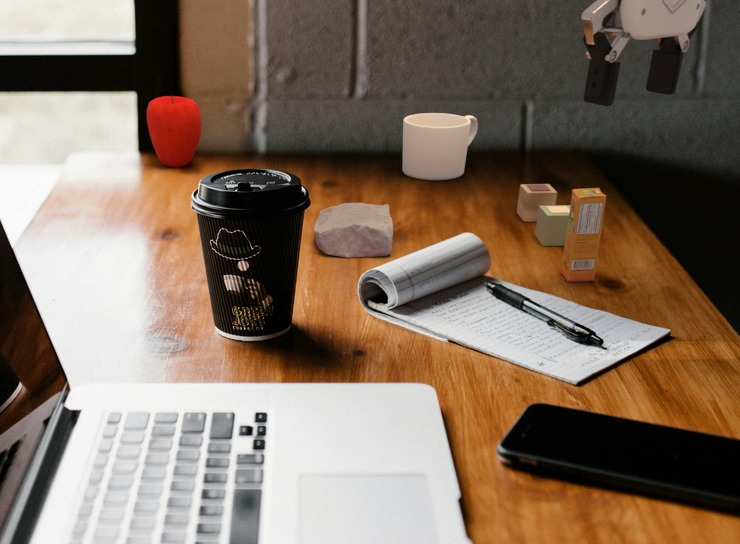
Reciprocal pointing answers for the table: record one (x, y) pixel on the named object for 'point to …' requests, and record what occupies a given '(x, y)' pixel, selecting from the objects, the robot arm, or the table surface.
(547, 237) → the near letter block
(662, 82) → the robot arm
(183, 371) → the table surface
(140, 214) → the table surface
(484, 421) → the table surface
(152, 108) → the apple
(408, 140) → the mug
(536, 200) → the far letter block
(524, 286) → the table surface
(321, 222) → the stone block
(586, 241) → the supplement box
